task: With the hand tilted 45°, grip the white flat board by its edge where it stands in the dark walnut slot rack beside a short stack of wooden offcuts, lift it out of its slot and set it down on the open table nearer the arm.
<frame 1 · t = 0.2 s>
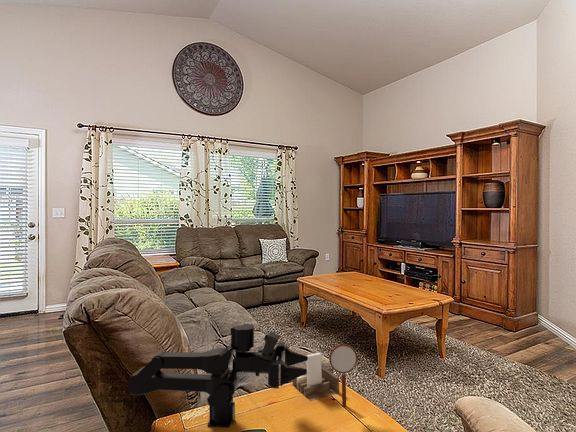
hand: (307, 364, 98), 17 cm above the table, tool horizontal, fingers open, 9 cm apart
white flat board: (314, 391, 113), point 1 cm above the table, touching offcut rack
offcut rack: (314, 395, 113), on the table
magnifying glass: (344, 411, 104), on the table
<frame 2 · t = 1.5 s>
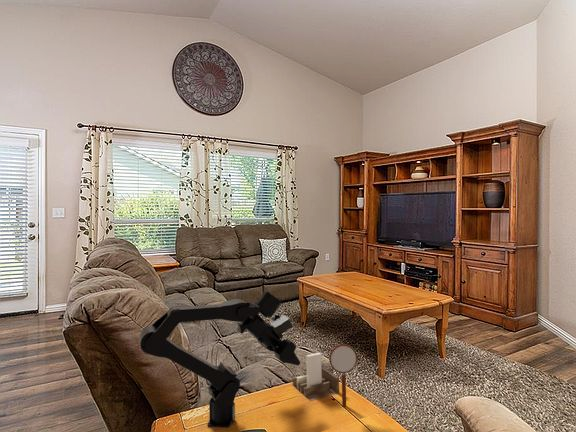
hand: (292, 359, 110), 14 cm above the table, tool tilted 45°, fingers open, 9 cm apart
nothing on the table moved.
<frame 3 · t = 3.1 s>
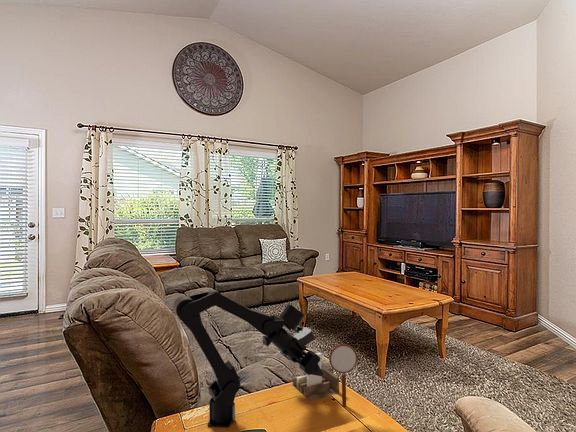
hand: (315, 369, 114), 8 cm above the table, tool tilted 45°, fingers open, 9 cm apart
nothing on the table moved.
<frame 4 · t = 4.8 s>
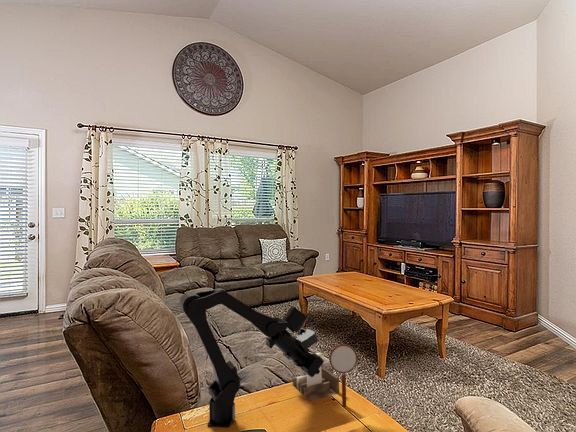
hand: (317, 371, 114), 8 cm above the table, tool tilted 45°, fingers closed on white flat board, 1 cm apart
white flat board: (314, 391, 113), point 2 cm above the table, touching gripper, offcut rack
everything else where it was.
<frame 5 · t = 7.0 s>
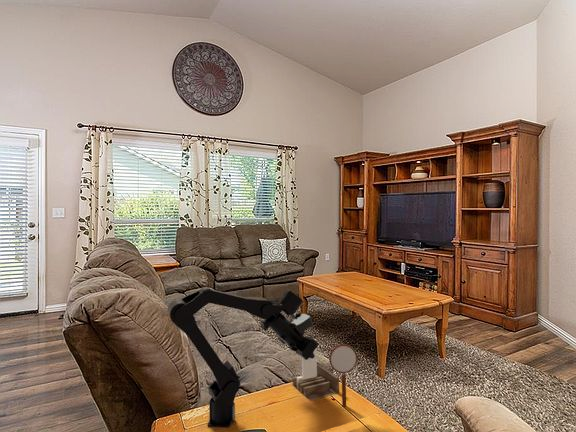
hand: (312, 356, 114), 13 cm above the table, tool tilted 45°, fingers closed on white flat board
white flat board: (309, 377, 113), point 6 cm above the table, touching gripper
everything else where it was.
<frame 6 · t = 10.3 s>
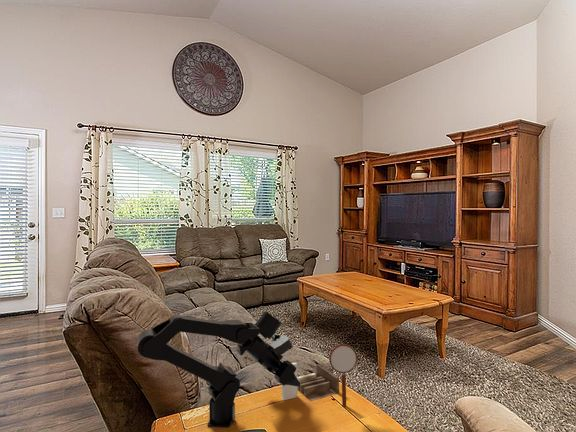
hand: (292, 379, 110), 7 cm above the table, tool tilted 45°, fingers open, 9 cm apart
white flat board: (289, 402, 109), on the table
everything else where it was.
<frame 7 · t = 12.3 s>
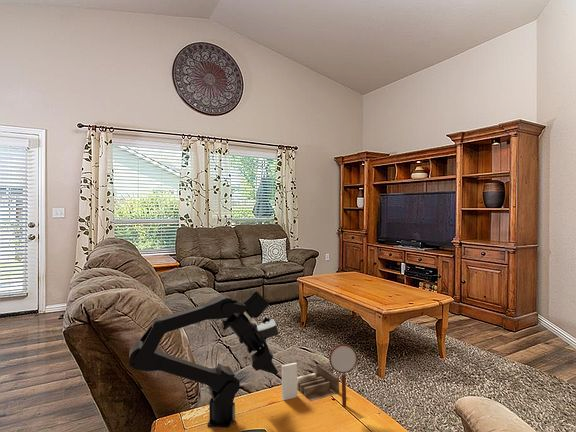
hand: (274, 365, 107), 13 cm above the table, tool tilted 40°, fingers open, 9 cm apart
nothing on the table moved.
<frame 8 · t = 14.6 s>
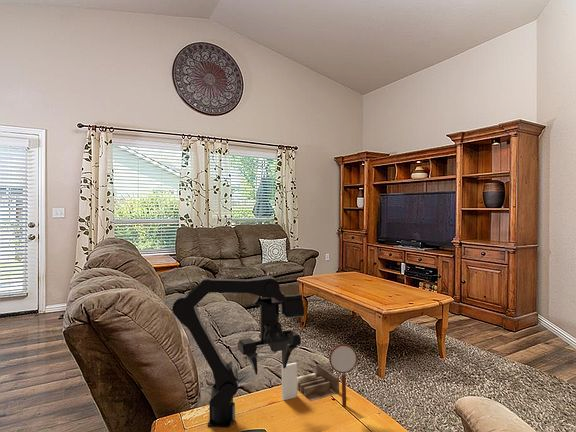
hand: (270, 371, 103), 13 cm above the table, tool pointing down, fingers open, 9 cm apart
nothing on the table moved.
at the end: white flat board inside the target area (0.2 cm from its centre), on the table; white flat board moved 9.3 cm from its start; the gripper is holding nothing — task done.
